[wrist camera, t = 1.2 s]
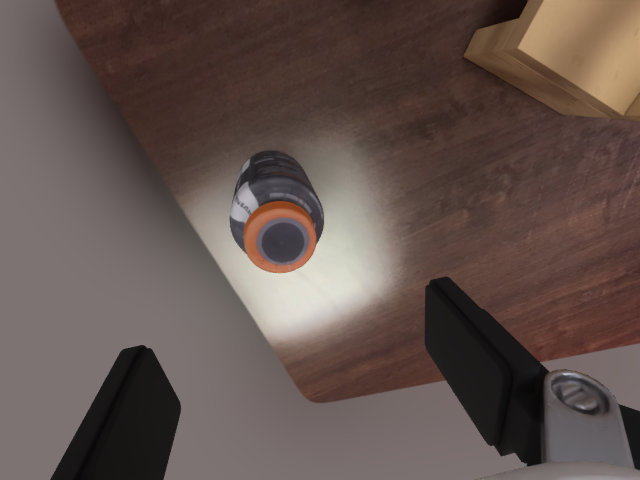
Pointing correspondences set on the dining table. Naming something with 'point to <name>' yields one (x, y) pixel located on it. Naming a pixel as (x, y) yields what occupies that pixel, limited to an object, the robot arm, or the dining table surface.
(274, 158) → the pill bottle
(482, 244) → the dining table surface
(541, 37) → the shelf
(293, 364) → the dining table surface
